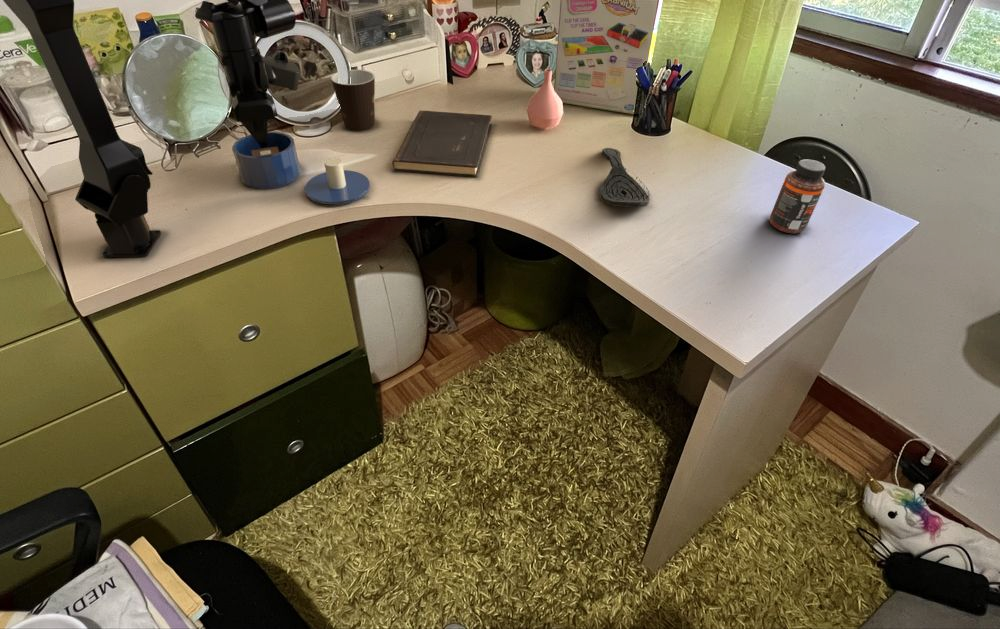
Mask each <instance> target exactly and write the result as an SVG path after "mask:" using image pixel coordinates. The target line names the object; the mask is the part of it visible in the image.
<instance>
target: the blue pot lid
mask: <svg viewBox="0 0 1000 629" xmlns="http://www.w3.org/2000/svg"><path fill="white" fill-rule="evenodd" d="M324 168H325V172H321V173H319V174H317V175H314V176H312V177H311V178H310V179H309V180H308V181H307V182H306V184H304V191H305V192H304V193H305V195H306V196H307V197H308V198H309V199H310V200H311V201H313V202H316V203H319V204H324V205H342V204H348V203H352V202H354V201H357V200H359V199H361V198H363V197H364V196H365V195H366V194H367V193H368V192H369V190H370V189H371V182H370V180H369V177H367V176H366V175H364V174H363V173H361V172H359V171H354V170H348V169H345V168H344V164H343V160H342V159H341V158H339V157H331V158H328V159H326V160H325V161H324Z"/></svg>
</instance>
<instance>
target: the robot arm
mask: <svg viewBox="0 0 1000 629" xmlns="http://www.w3.org/2000/svg"><path fill="white" fill-rule="evenodd" d="M2 1H3V3H4V4H5V5H6V6H7V7H8V9H10V11H11V12H12V13H13V14H14V15H15V16H16V17H17V19H18V20H19V21H20V22H21V23H22V25H24V27H25V28H26V29H27V31H28V32H29V34H30V36H31V39H32V41H33V43H34V45H35V47H36V50H37V51H38V54H39V56H40V59H41V60H42V62H43V64H44V67H45V69H46V71H47V73H48V75H49V77H50V80H51V82H52V84H53V87H54V88H55V91H56V92H57V95H58V96H59V98H60V101H61V103H62V105H63V107H64V109H65V112H66V114H67V115H68V118H69V120H70V122H71V124H72V126H73V128H74V131H75V133H76V135H77V137H78V141H79V149H78V160H79V165H80V168H81V172H82V175H83V179H82V182H81V184H80V186H79V189H78V191H77V193H76V196H75V198H74V199H75V201H76V203H78V204H79V205H80V206H81V207H82V208H84V209H85V210H87V211H90V212H92V213H94V218H95V219H96V221H95V223H96V226H97V227H98V229H99V231H100V233H101V235H102V237H103V239H104V240H105V242H106V245H107V246H106V247H105V249H104V250H103V251H102V252H101V255H102V257H103V258H141V257H142V258H144V257H147V256H149V254H150V252H151V251H152V250H153V248H154V246H155V245H156V243H157V241H158V240H159V238H160V237H161V236H162V231H161V230H160V229H150V226H149V223H148V221H147V219H146V217H145V215H146V214H148V213H149V201H148V199H149V198H148V193H149V191H150V189H151V186H152V183H151V178H150V176H152V175H153V171H151V170H150V168H149V167H148V165H147V162H146V158H145V154H144V151H143V149H142V148H141V146H137V145H135V144H132V143H130V142H129V141H126V140H123V139H121V137H120V135H119V134H118V131H117V128H116V127H115V124H114V122H113V119H112V116H111V115H110V112H109V110H108V107H107V105H106V102H105V99H104V98H103V95H102V92H101V90H100V88H99V85H98V83H97V81H96V79H95V76H94V74H93V72H92V69H91V67H90V64H89V62H88V59H87V57H86V55H85V52H84V50H83V47H82V45H81V43H80V40H79V38H78V36H77V34H76V30H75V27H74V20H75V19H74V18H75V0H2ZM233 2H234V3H237V2H240V4H234V3H233ZM194 14H195V15H194V18H196V20H200V21H204V22H208V23H210V24H211V27H212V30H213V33H214V37H215V42H216V44H217V47H218V52H219V55H220V59H221V64H222V67H223V69H224V71H223V72H224V75H225V80H226V83H227V86H228V88H229V91H230V96H231V97H232V98H233V99H232V100H231V105H232V109H233V113H234V116H235V120H236V122H240V123H241V125H242V126H243V128H245V129H246V130H247V132H248V133H249V135H250V134H251V135H252V137H253V138H254V139H255V140H256V142H257V143H258V144H259V145H260V147H261V148H264V147H267V146H268V132H269V131H268V130H269V129H268V124H269V123H268V122H269V120H270V119H272V118H276V117H278V111H277V107H276V103H275V100H274V98H273V96H272V95H271V94H270V93H268V90H269V89H271V87H270V85H272V86H276V87H280V88H281V87H282V88H285V89H288V90H289V91H298V87H299V81H300V76H301V75H300V73H301V71H300V68H299V67H298V65H297V64H296V63H295V62H294V61H289V59H288V55H287V53H286V52H285V51H283V50H278V49H275V51H274V53H273V54H272V55H271V56H270V55H268V56H263V55H262V54H261V50H260V48H258V44H257V41H256V37H257V38H259V39H267V38H271V37H273V36H277V35H280V34H283V33H286V32H289V31H292V30H293V29H294V28H295V27H296V23H297V22H296V21H297V18H296V13H295V10H294V9H293V6H292V4H291V3H290V1H289V0H227V1H224V2H221V3H217V4H215V3H213V2H210V1H207V0H202V1H201V5H200V7H199V8H198V9H197V10H196V12H195V13H194ZM149 175H150V176H149Z"/></svg>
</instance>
